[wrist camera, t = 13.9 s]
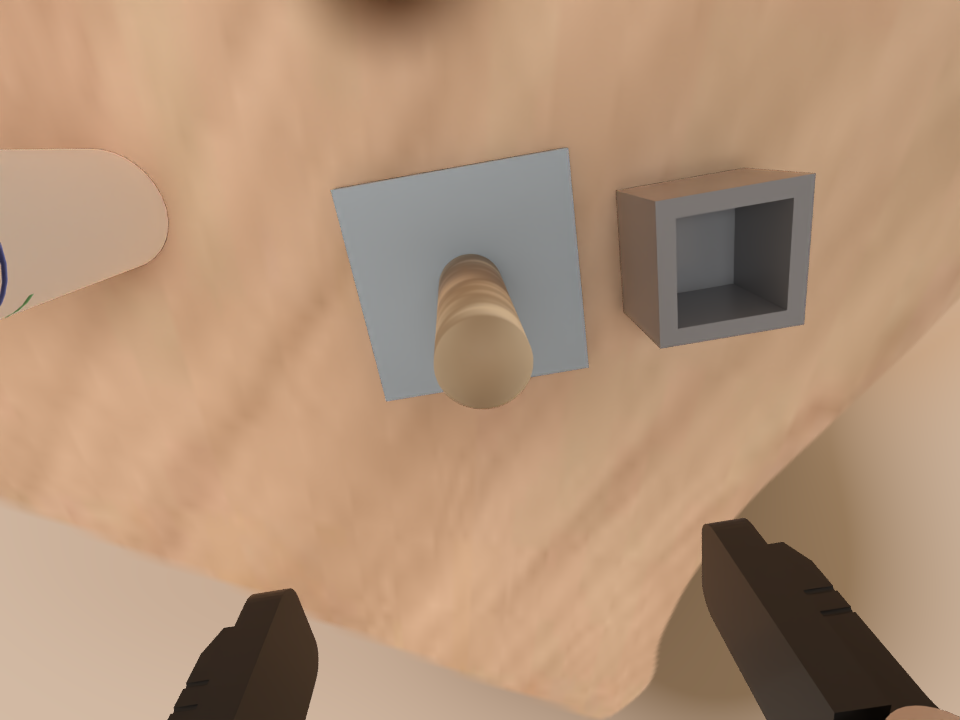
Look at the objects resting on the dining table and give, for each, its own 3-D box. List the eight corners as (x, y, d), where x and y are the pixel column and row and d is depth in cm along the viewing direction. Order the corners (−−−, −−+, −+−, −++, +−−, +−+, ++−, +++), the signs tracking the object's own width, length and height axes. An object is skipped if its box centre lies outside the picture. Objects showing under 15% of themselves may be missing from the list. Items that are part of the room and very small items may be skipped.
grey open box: (743, 167, 32) (815, 173, 26) (740, 291, 35) (803, 324, 29) (615, 190, 33) (655, 201, 26) (623, 311, 36) (660, 348, 29)
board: (563, 147, 31) (568, 147, 30) (583, 359, 37) (588, 367, 35) (336, 188, 32) (330, 190, 30) (389, 392, 37) (386, 401, 36)
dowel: (497, 248, 32) (526, 308, 20) (506, 310, 34) (539, 399, 22) (433, 260, 32) (424, 326, 20) (445, 321, 34) (444, 416, 22)
